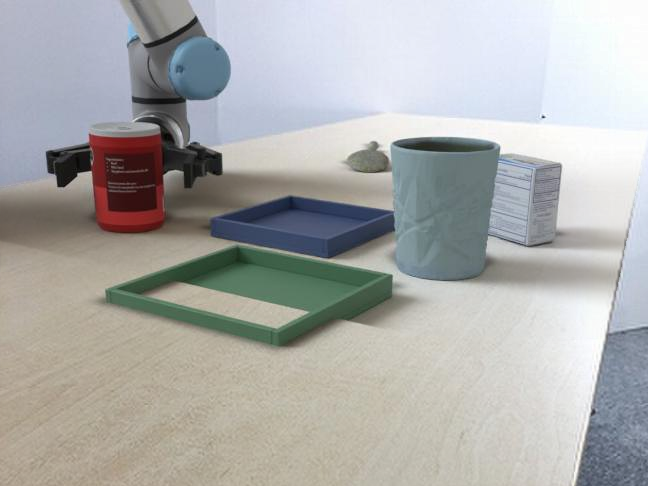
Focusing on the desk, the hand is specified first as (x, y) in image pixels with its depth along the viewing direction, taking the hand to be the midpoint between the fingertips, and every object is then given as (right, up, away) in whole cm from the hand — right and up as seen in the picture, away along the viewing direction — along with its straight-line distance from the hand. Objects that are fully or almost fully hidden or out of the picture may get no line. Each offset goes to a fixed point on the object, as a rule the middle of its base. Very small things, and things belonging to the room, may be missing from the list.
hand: (123, 175), depth 92 cm
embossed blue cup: (+33, -11, -9) cm, 36 cm away
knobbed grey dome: (+29, +12, +49) cm, 58 cm away
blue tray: (+20, -6, +3) cm, 21 cm away
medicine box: (+43, -7, +3) cm, 44 cm away
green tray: (+16, -15, -20) cm, 29 cm away
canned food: (0, -5, +5) cm, 7 cm away
